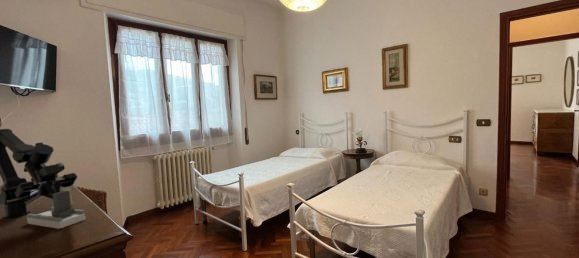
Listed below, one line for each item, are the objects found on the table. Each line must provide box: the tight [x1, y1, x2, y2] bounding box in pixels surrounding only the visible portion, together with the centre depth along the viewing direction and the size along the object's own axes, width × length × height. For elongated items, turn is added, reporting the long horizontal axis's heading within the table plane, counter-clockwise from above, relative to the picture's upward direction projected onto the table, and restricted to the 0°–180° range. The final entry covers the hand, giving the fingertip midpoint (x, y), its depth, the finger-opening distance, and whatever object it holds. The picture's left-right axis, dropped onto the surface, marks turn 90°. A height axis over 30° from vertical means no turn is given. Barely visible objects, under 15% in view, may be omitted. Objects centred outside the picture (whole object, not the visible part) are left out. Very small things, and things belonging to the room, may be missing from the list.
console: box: [26, 206, 86, 230], centre depth 109 cm, size 20×9×4 cm, turn 69°
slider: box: [52, 191, 75, 218], centre depth 107 cm, size 5×5×9 cm
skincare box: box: [51, 186, 74, 207], centre depth 127 cm, size 6×4×12 cm
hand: (59, 200), depth 107 cm, fingers closed
